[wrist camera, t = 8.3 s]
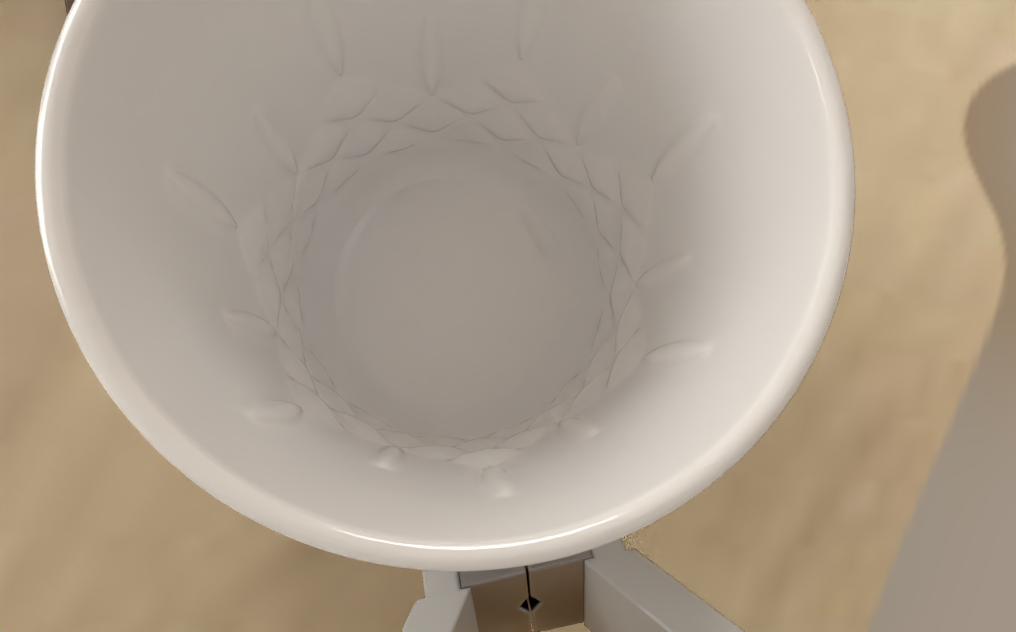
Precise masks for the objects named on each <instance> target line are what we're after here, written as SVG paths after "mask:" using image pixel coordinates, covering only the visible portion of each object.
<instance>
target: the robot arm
mask: <svg viewBox="0 0 1016 632" xmlns="http://www.w3.org/2000/svg"><path fill="white" fill-rule="evenodd" d="M422 574H423V583H424V591H425V598H421V599H418V600H416V602H415V604H414V606H413V608H412V610H411V612H410V614H409V616H408V619H407V621H406V623H405V625H404V627H403V629H402V631H401V632H532V630H531V622H532V626H533V630H534V632H541V631H545V630H550V629H554V628H559V627H564V626H568V625H573V624H577V623H582V622H584V625H585V626H586V627H587V628H588V629H589V630H590V631H591V632H745V631H744V630H742V629H741V628H740V627H738V626H737V625H736V624H734V623H733V622H732V621H730V620H729V619H728V618H726V617H725V616H724V615H722V614H721V613H720V612H718V611H717V610H716V609H714V608H713V607H712V606H710V605H709V604H708V603H707V602H705V601H704V600H703V599H701V598H700V597H699V596H697V595H696V594H695V593H693V592H692V591H691V590H689V589H688V588H687V587H685V586H684V585H683V584H681V583H680V582H679V581H677V580H676V579H675V578H673V577H672V576H671V575H669V574H668V573H667V572H665V571H664V570H663V569H661V568H660V567H659V566H657V565H656V564H655V563H653V562H652V561H651V560H649V559H648V558H647V557H646V556H644V555H643V554H642V553H640V552H639V551H638V550H636V549H630V550H626V548H625V545H624V543H623V540H622V538H620V539H617V540H615V541H613V542H610V543H607V544H605V545H602V546H599V547H597V548H594V549H591V550H588V551H585V552H582V553H578V554H575V555H571V556H568V557H564V558H560V559H556V560H552V561H547V562H543V563H538V564H532V565H527V566H520V567H513V568H506V569H496V570H484V571H429V570H422Z"/></svg>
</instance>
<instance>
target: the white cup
mask: <svg viewBox="0 0 1016 632" xmlns="http://www.w3.org/2000/svg"><path fill="white" fill-rule="evenodd" d="M35 194H36V205H37V215H38V222H39V228H40V234H41V240H42V245H43V249H44V254H45V258H46V262H47V266H48V269H49V273H50V276H51V280H52V283H53V286H54V289H55V292H56V295H57V298H58V300H59V303H60V306H61V308H62V311H63V313H64V316H65V318H66V320H67V323H68V325H69V327H70V329H71V332H72V334H73V336H74V338H75V340H76V342H77V344H78V346H79V348H80V349H81V351H82V353H83V355H84V357H85V359H86V360H87V362H88V364H89V365H90V367H91V369H92V370H93V372H94V374H95V375H96V377H97V378H98V380H99V381H100V383H101V384H102V386H103V387H104V389H105V390H106V392H107V393H108V395H109V396H110V397H111V399H112V400H113V401H114V403H115V404H116V405H117V407H118V408H119V409H120V410H121V412H122V413H123V414H124V415H125V417H126V418H127V419H128V420H129V421H130V422H131V424H132V425H133V426H134V427H135V428H136V429H137V430H138V432H139V433H140V434H141V435H142V436H143V437H144V438H145V439H146V440H147V441H148V442H149V443H150V444H151V445H152V446H153V447H154V448H155V449H156V450H157V451H158V452H159V453H160V454H161V455H162V456H163V457H164V458H165V459H166V460H168V461H169V462H170V463H171V464H172V465H173V466H174V467H175V468H177V469H178V470H179V471H180V472H181V473H183V474H184V475H185V476H186V477H187V478H189V479H190V480H191V481H193V482H194V483H195V484H196V485H198V486H199V487H201V488H202V489H203V490H205V491H206V492H207V493H209V494H210V495H212V496H213V497H215V498H216V499H218V500H219V501H221V502H222V503H224V504H225V505H227V506H229V507H230V508H232V509H234V510H235V511H237V512H238V513H240V514H242V515H244V516H246V517H247V518H249V519H251V520H253V521H255V522H257V523H259V524H261V525H263V526H265V527H267V528H269V529H271V530H273V531H275V532H277V533H279V534H282V535H284V536H286V537H289V538H291V539H293V540H296V541H298V542H301V543H304V544H306V545H309V546H312V547H315V548H318V549H321V550H324V551H327V552H330V553H333V554H337V555H340V556H344V557H348V558H352V559H356V560H360V561H365V562H369V563H374V564H380V565H385V566H392V567H399V568H406V569H416V570H429V571H484V570H496V569H506V568H513V567H520V566H527V565H532V564H538V563H543V562H547V561H552V560H556V559H560V558H564V557H568V556H571V555H575V554H578V553H582V552H585V551H588V550H591V549H594V548H597V547H599V546H602V545H605V544H607V543H610V542H613V541H615V540H617V539H620V538H622V537H625V536H627V535H629V534H631V533H633V532H636V531H638V530H640V529H642V528H644V527H646V526H648V525H649V524H651V523H653V522H655V521H657V520H659V519H661V518H662V517H664V516H666V515H667V514H669V513H671V512H672V511H674V510H676V509H677V508H679V507H680V506H682V505H684V504H685V503H687V502H688V501H689V500H691V499H692V498H694V497H695V496H697V495H698V494H699V493H701V492H702V491H704V490H705V489H706V488H707V487H709V486H710V485H711V484H713V483H714V482H715V481H716V480H717V479H719V478H720V477H721V476H722V475H723V474H725V473H726V472H727V471H728V470H729V469H730V468H731V467H733V466H734V465H735V464H736V463H737V462H738V461H739V460H740V459H741V458H742V457H743V456H744V455H745V454H746V453H747V452H748V451H749V450H750V449H751V448H752V447H753V446H754V445H755V444H756V443H757V442H758V440H759V439H760V438H761V437H762V436H763V435H764V434H765V432H766V431H767V430H768V429H769V428H770V427H771V425H772V424H773V423H774V422H775V420H776V419H777V418H778V416H779V415H780V414H781V412H782V411H783V410H784V408H785V407H786V405H787V404H788V403H789V401H790V400H791V398H792V397H793V395H794V394H795V392H796V391H797V389H798V387H799V386H800V384H801V383H802V381H803V379H804V378H805V376H806V374H807V372H808V371H809V369H810V367H811V365H812V363H813V361H814V359H815V357H816V355H817V353H818V351H819V349H820V347H821V345H822V343H823V340H824V338H825V336H826V334H827V331H828V329H829V326H830V324H831V321H832V318H833V316H834V313H835V310H836V307H837V304H838V301H839V297H840V294H841V291H842V287H843V283H844V279H845V275H846V271H847V266H848V261H849V256H850V250H851V243H852V236H853V227H854V214H855V166H854V154H853V144H852V137H851V130H850V124H849V119H848V114H847V109H846V105H845V101H844V97H843V93H842V89H841V85H840V82H839V79H838V75H837V72H836V69H835V66H834V64H833V61H832V58H831V55H830V53H829V50H828V48H827V45H826V43H825V40H824V38H823V36H822V33H821V31H820V29H819V27H818V25H817V23H816V20H815V19H814V17H813V15H812V13H811V11H810V9H809V7H808V5H807V3H806V1H805V0H75V1H74V3H73V5H72V7H71V9H70V11H69V13H68V16H67V18H66V20H65V22H64V25H63V27H62V30H61V32H60V35H59V37H58V40H57V43H56V46H55V49H54V52H53V55H52V58H51V61H50V64H49V68H48V72H47V75H46V80H45V84H44V88H43V93H42V98H41V103H40V109H39V116H38V123H37V132H36V143H35Z"/></svg>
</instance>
